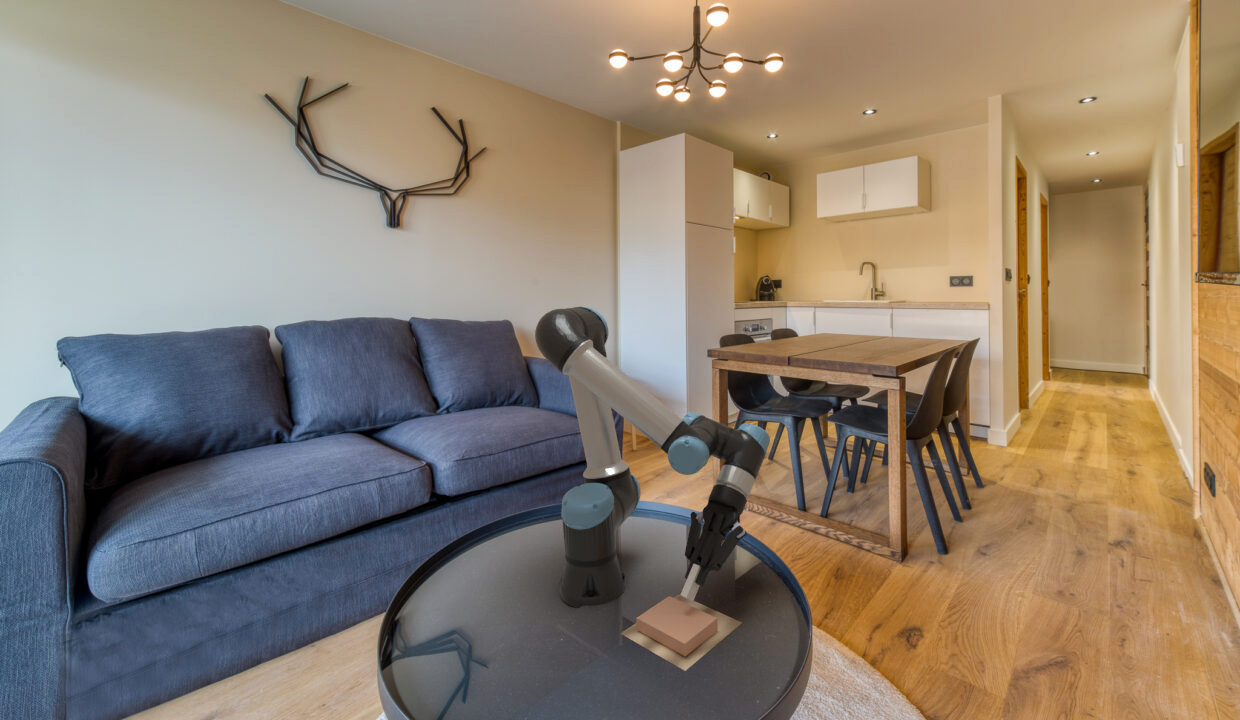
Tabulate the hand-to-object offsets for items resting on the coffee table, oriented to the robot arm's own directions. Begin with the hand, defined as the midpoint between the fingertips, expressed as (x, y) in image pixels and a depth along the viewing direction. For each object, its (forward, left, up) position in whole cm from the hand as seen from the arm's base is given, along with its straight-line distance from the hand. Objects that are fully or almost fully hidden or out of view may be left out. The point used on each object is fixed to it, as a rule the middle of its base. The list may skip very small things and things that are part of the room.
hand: (686, 598), depth 105 cm
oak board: (0, -1, -7) cm, 7 cm away
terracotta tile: (0, +2, -4) cm, 5 cm away
